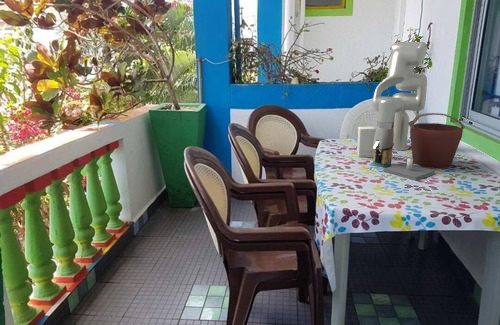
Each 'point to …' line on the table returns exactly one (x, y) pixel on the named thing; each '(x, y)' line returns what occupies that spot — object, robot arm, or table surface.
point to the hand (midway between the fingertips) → (382, 161)
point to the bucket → (434, 142)
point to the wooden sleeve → (384, 158)
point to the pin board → (409, 170)
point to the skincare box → (365, 141)
